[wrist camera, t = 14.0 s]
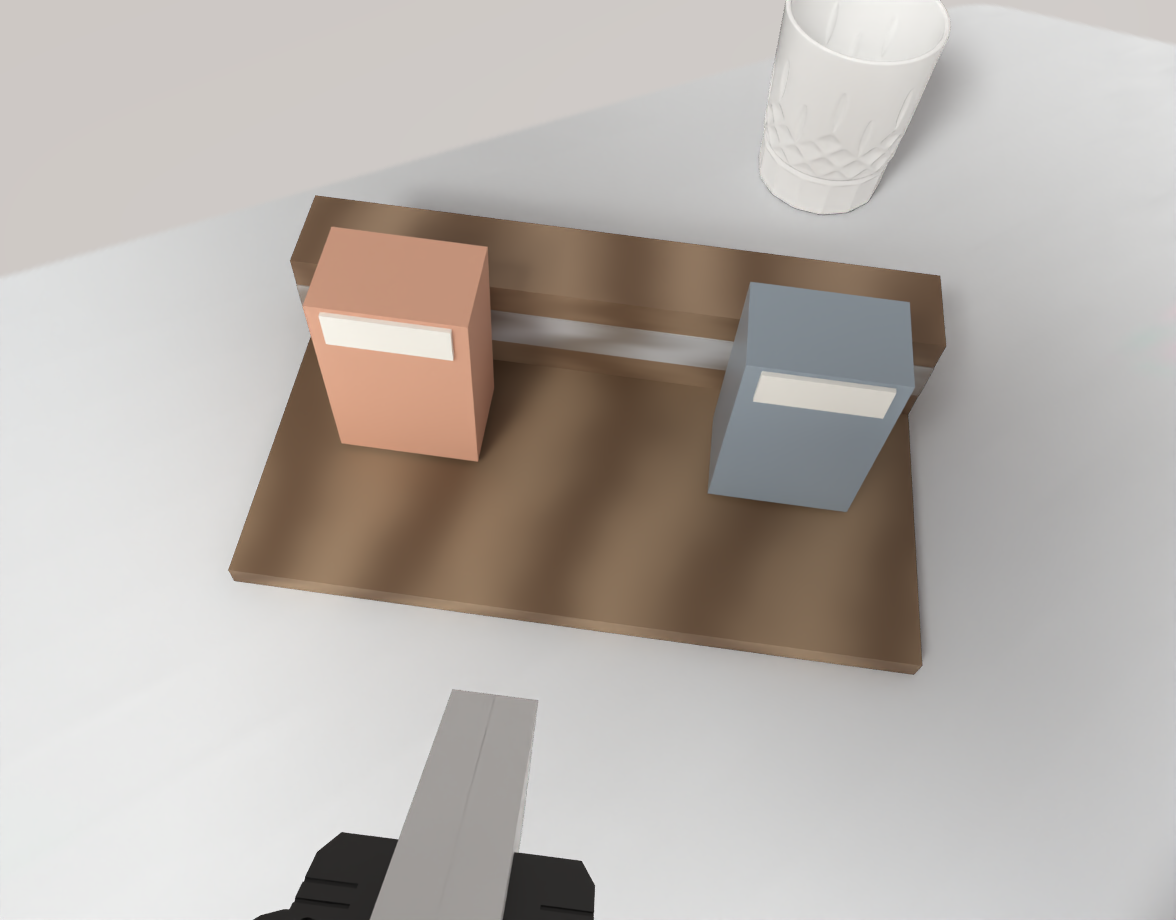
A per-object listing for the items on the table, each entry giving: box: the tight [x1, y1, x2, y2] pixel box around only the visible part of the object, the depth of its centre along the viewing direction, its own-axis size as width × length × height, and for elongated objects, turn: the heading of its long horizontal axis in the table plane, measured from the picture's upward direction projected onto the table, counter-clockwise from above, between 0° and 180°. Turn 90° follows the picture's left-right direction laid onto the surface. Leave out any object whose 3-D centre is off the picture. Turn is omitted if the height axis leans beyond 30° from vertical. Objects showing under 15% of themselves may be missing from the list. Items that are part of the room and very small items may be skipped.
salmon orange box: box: [303, 227, 494, 462], centre depth 41 cm, size 6×4×9 cm
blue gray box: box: [708, 282, 915, 512], centre depth 40 cm, size 6×4×9 cm
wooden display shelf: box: [228, 195, 946, 675], centre depth 43 cm, size 28×16×6 cm, turn 83°
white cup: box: [759, 0, 951, 215], centre depth 52 cm, size 8×8×10 cm
